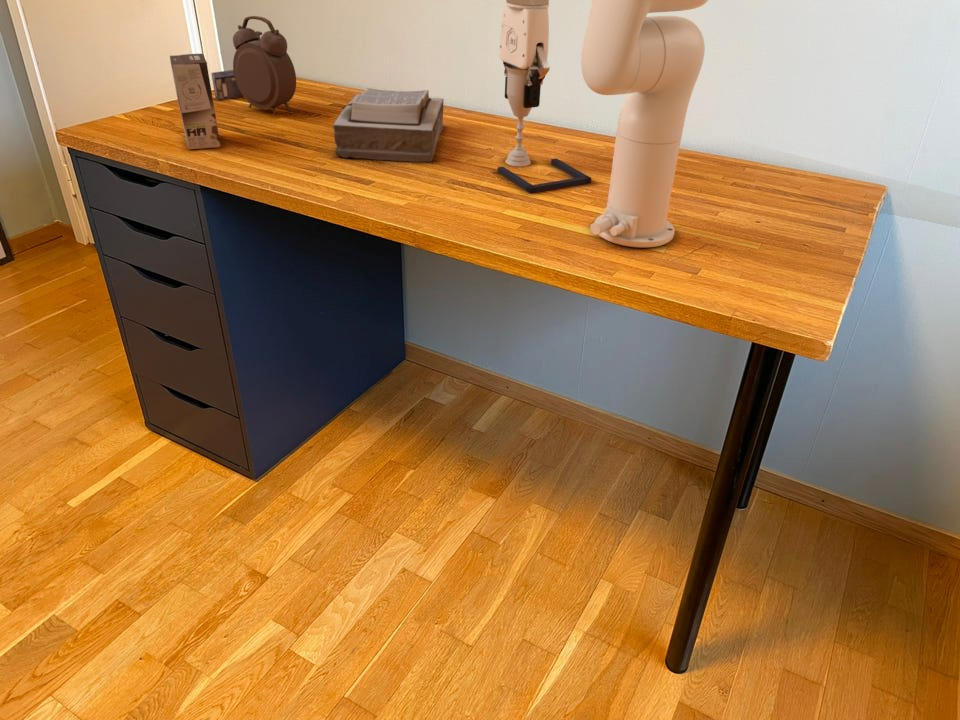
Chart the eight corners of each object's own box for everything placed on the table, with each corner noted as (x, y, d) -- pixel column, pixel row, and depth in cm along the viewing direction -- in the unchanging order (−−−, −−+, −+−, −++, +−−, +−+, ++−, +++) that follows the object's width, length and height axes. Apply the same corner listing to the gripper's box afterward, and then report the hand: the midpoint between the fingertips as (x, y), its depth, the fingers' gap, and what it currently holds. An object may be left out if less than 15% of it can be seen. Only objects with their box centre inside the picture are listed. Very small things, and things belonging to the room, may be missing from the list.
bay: (591, 183, 136) (591, 177, 135) (529, 193, 130) (530, 188, 130) (555, 163, 144) (556, 158, 144) (497, 172, 139) (497, 167, 138)
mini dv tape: (218, 100, 176) (213, 74, 172) (215, 98, 177) (211, 72, 173) (250, 95, 180) (246, 69, 177) (247, 94, 181) (243, 68, 178)
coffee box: (221, 147, 147) (207, 62, 138) (187, 150, 145) (170, 64, 136) (217, 134, 154) (203, 52, 145) (185, 136, 152) (168, 54, 143)
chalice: (532, 169, 141) (539, 71, 131) (497, 166, 142) (501, 68, 132) (537, 157, 147) (544, 62, 137) (504, 154, 148) (508, 60, 138)
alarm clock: (304, 112, 169) (294, 18, 158) (281, 119, 164) (270, 22, 153) (259, 102, 175) (247, 10, 164) (236, 108, 170) (221, 14, 159)
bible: (313, 155, 144) (308, 104, 139) (363, 118, 166) (360, 73, 160) (426, 168, 140) (426, 115, 134) (463, 128, 162) (463, 82, 156)
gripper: (485, -10, 133) (482, 93, 143) (535, 5, 120) (528, 116, 130) (521, -11, 136) (515, 89, 146) (573, 3, 123) (563, 112, 133)
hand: (521, 101), depth 138 cm, fingers closed on chalice, 6 cm apart
